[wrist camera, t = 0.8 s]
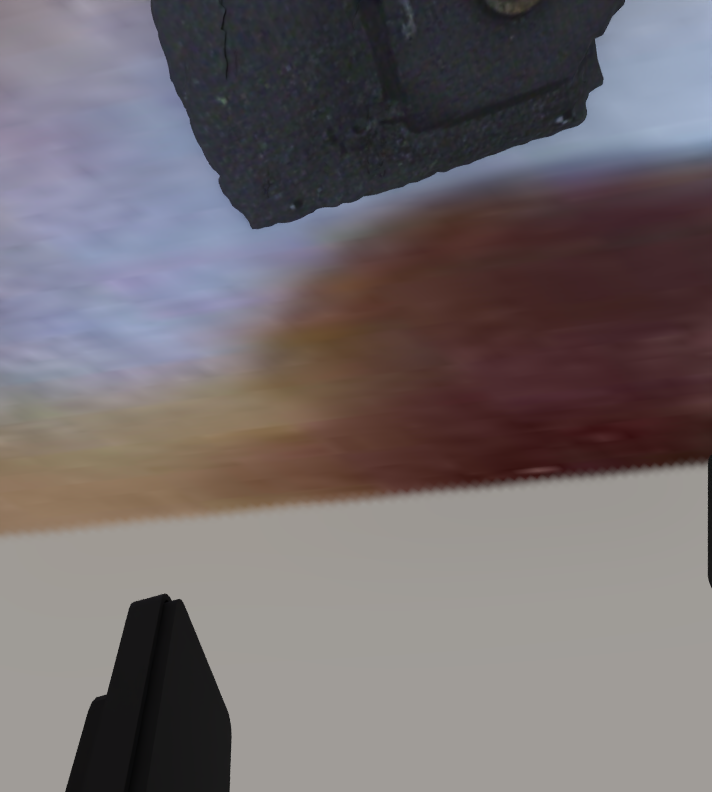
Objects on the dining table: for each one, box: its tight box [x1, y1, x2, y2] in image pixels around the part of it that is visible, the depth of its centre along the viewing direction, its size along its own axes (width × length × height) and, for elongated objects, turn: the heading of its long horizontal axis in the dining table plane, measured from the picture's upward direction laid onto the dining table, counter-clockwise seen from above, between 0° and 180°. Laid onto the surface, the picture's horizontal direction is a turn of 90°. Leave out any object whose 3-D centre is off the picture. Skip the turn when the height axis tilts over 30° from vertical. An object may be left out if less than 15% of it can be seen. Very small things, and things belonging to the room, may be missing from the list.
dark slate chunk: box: [151, 0, 625, 229], centre depth 31 cm, size 15×22×5 cm
